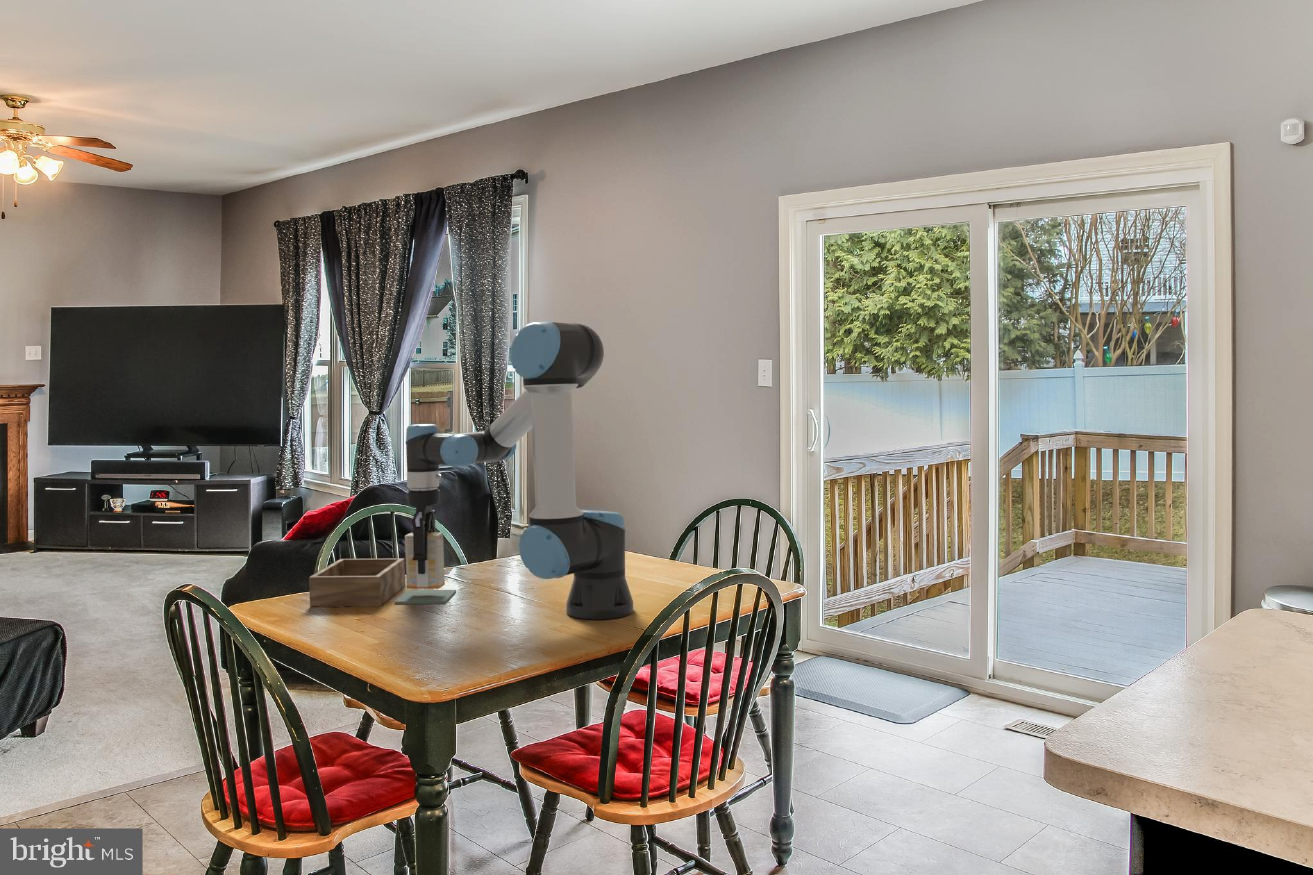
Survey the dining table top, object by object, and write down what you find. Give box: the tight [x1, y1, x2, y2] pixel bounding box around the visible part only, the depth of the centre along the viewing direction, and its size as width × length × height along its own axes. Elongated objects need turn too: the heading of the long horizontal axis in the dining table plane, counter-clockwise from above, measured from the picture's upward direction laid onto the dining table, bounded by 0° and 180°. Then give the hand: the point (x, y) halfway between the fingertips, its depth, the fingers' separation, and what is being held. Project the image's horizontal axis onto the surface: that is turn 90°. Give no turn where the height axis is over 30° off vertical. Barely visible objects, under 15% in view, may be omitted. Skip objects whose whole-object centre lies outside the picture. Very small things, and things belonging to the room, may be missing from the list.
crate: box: [308, 557, 406, 608], centre depth 237 cm, size 22×16×7 cm
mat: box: [394, 589, 457, 605], centre depth 234 cm, size 12×12×1 cm
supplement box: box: [404, 531, 446, 590], centre depth 234 cm, size 8×5×13 cm, turn 85°
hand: (425, 583), depth 234 cm, fingers closed on supplement box, 5 cm apart
